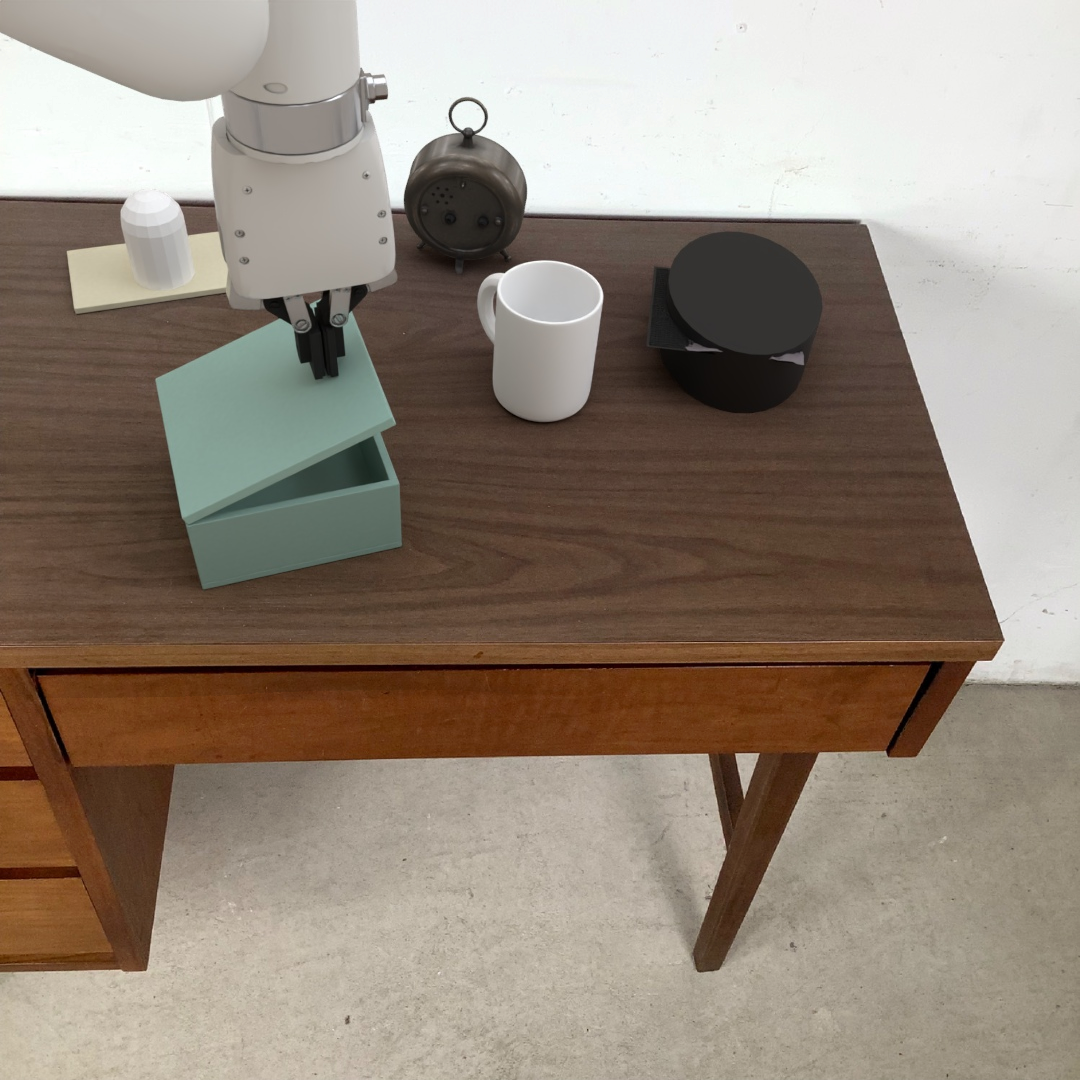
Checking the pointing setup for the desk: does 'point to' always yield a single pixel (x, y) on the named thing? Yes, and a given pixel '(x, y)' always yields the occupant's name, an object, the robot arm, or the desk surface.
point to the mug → (542, 337)
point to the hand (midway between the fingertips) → (322, 364)
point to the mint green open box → (304, 519)
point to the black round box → (735, 320)
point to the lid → (263, 415)
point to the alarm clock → (465, 195)
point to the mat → (111, 283)
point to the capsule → (156, 240)
